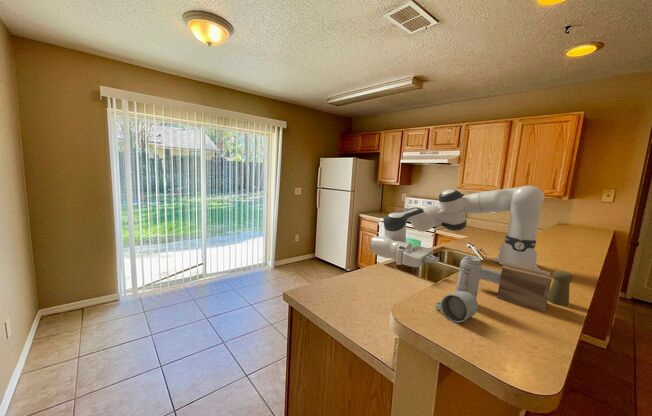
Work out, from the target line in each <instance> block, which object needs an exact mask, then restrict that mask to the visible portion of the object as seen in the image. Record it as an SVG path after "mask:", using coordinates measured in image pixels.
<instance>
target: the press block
mask: <svg viewBox="0 0 652 416" xmlns="http://www.w3.org/2000/svg"><path fill="white" fill-rule="evenodd" d="M552 279H553V277H552V276H551V272H550V271H548V270H543V269H541V268H540V269H535V268H531V267H526V266H522V265H517V264H513V263H508V262H504V264H503V265H502V268H501V278H500V283H499V284H498V289H497V290H498V291H497V295H496V299H499V300H502V301H504V302H505V301H506V302H508V303H512V304H515V305H519V306H522V307H527V308H529V309H532V310H536V311H540V312H543V313H546V308H547V302H548V295H549V290H550V288H551V286H552V282H553V281H552Z"/></svg>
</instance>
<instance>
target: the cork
mask: <svg viewBox="0 0 652 416" xmlns="http://www.w3.org/2000/svg"><path fill="white" fill-rule="evenodd" d="M552 279H553V281H552V282H551V285H550V290H549V295H548V300H547V302H549V303H552V304H553V305H557V306H561V307H569V306H570V287H571V286H570V283H572V282H573V280H574V276H573V274H572V273H570V272H568V271H564V270H560V269H559V270H555V271H553V273H552Z"/></svg>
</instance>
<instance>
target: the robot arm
mask: <svg viewBox="0 0 652 416" xmlns="http://www.w3.org/2000/svg"><path fill="white" fill-rule="evenodd" d="M544 200H545V194H544V192H543V190H542V189H541V188H539V187H537V186H534V185H523V186H519V187H517V186H516V187H511V188H503V189H502V188H500V189H494V190H487V191H486V190H485V191H478V192H473V193H468V194H464V193H461V192H460V191H459V190H456V189H445V190H444V191H442V192H440V194H438V201H439V206H437V205H433V204H432V205H428V206H425V207H422V208H421V207H417V206H416V207H411V208H410V207H409V208H407V209H403V210H400V211H394V212H390V213H388V214H387V215H386V216H385V217H384V218H383V220H382V221H383V227H384V235H383V236H375V235H374V236H372V238H371V239H370V246H369V247H370V251H371V253H372V254H374V255H376V256H378V257H382V258H386V259H392V260H394V261H396V262H395V263H396V265H399V266H401V265H404V266H408V267H411V268H420V267H421V266H422V265H423V264H425V263H427V264H428V263H430V264H431V263H432V264H435V265H436V264H438V263H440V257H438V256H435V255H434V249H432V248H430V247H425V246H419V245H418V246H415V247H414V246H413V244H412V243H411V242H407V222H408V221H410V224H411V226H412V227H413V228H414V229H415V230H416V231H419V232H427V231H429V230H431V229H432V228H434V227H435V226H436V225H438V224H440V225H441V227H443V228H445V229H446V230H448V231H453V232H455V231H456V232H458V231H461V230H464V229H465V228H466V227H467V221H468V220H467V219H466V214H474V215H475V214H486V213H487V214H488V213H500V212H509V213H510V214H509V216H510V217H509V218H510V219H509V222H508V228H507V232H506V233H507V234H506V236H505V237H504V243H503V244H502V245H500V246H499V252H498V256H496V257H494V258H493V259H492V261H493V262H495V263H497V262H498V264H500V265H501V266H503V264H504V262H508V263H513V264H517V265H522V266H526V267H531V268H535V269H540V270H541V268H540V267H539V266H538V265H537V262H538V254H539V253H538V252H537V251H536V249H535V248H536V245H537V240H536V237H537V233H538V227H539V223H540V221H539V220H540V213H541V209H542V204H543V203H544Z"/></svg>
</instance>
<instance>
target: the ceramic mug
mask: <svg viewBox="0 0 652 416" xmlns="http://www.w3.org/2000/svg"><path fill="white" fill-rule="evenodd" d="M434 305H435V309H436V310H438V311H441V312H442V313H443V315H444V316H445V318H446V319H448V320H449V321H451V322H452V323H456V324H459V323H463V322H465V321H467V320H468V319H470V318H472V317H473V316H475V315H476V314H477V312H478V311H479V309H478V308H479V304H478V301H477V298H475V297H474V296H473V295H472V294H470V293H468V292H465V291H458V292H456V291H455V292H453V293H449V294H446V295H445V296H443V298H442V299H441V301H438V302H436V303H435V304H434Z"/></svg>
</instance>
